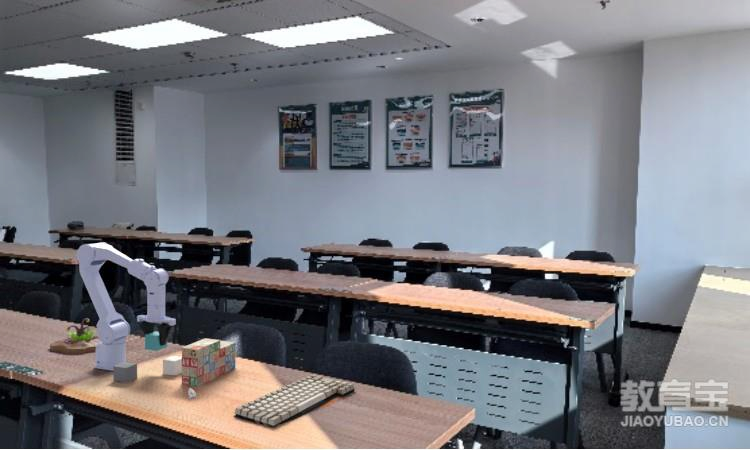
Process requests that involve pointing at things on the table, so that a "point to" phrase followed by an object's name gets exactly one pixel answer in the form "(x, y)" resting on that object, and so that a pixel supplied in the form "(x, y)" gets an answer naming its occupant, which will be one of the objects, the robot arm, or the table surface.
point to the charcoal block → (125, 372)
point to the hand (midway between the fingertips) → (156, 344)
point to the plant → (77, 341)
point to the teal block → (153, 342)
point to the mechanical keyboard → (294, 400)
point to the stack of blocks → (206, 360)
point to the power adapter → (191, 393)
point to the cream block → (172, 365)
